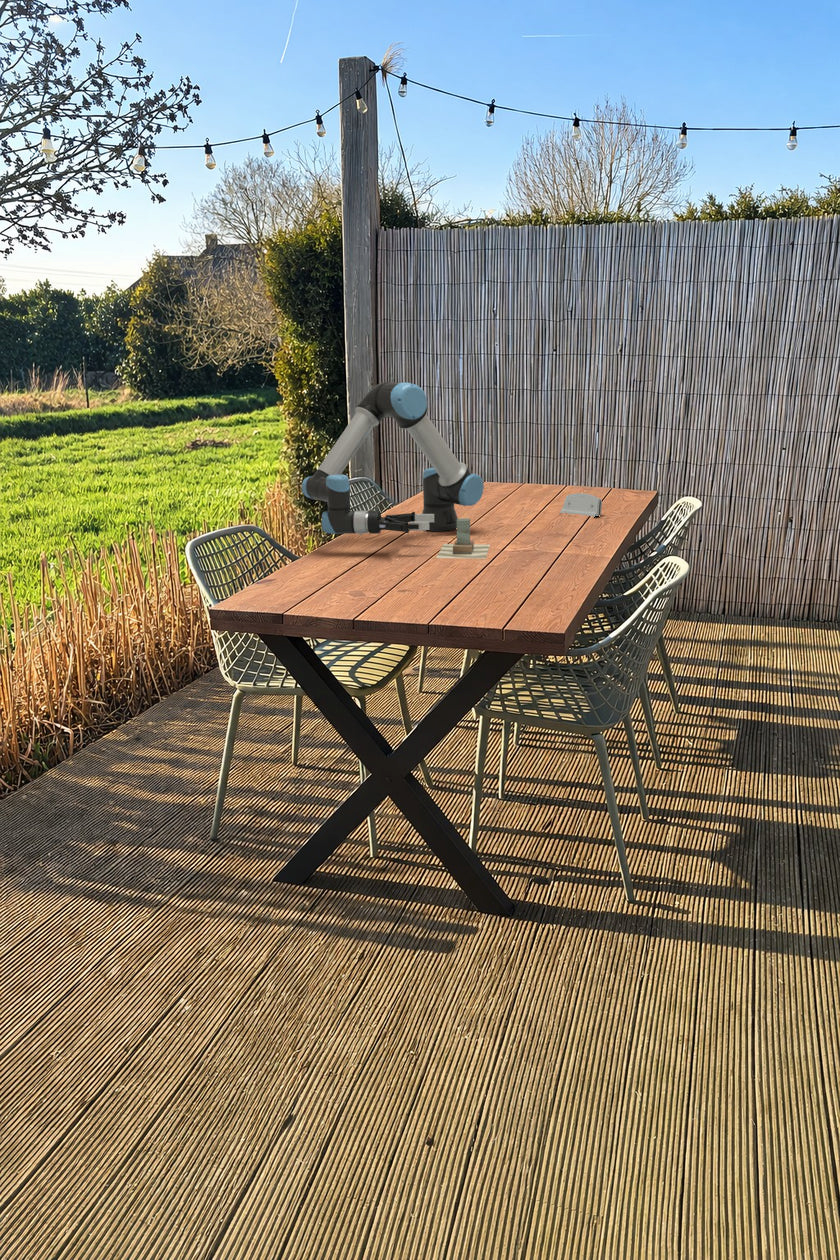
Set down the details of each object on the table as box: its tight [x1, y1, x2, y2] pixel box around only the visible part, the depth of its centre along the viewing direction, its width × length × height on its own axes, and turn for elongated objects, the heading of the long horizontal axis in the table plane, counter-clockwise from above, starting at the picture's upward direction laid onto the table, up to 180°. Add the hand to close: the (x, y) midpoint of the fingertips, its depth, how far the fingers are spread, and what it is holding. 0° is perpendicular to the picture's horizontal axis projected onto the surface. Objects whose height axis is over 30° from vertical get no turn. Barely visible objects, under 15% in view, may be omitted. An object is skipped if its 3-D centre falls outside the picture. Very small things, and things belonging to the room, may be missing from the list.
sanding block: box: [453, 517, 475, 554], centre depth 323 cm, size 10×6×11 cm, turn 172°
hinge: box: [559, 492, 603, 518], centre depth 391 cm, size 17×5×10 cm, turn 51°
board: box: [435, 543, 491, 560], centre depth 324 cm, size 22×16×2 cm
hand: (431, 522), depth 323 cm, fingers open, 13 cm apart
